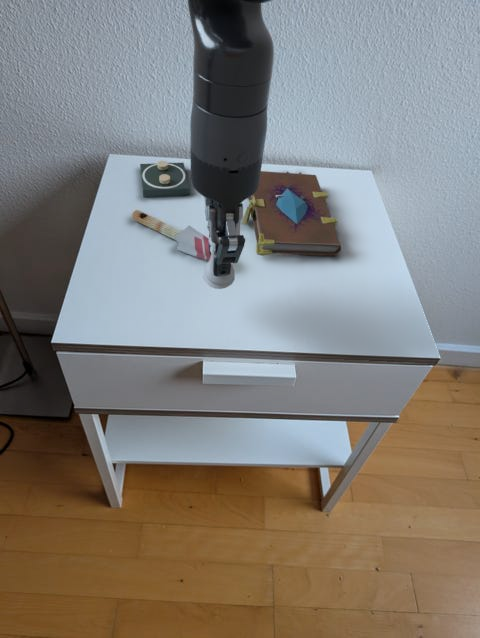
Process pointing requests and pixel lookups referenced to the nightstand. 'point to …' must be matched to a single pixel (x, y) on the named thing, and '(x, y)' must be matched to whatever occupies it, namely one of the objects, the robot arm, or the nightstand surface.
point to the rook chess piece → (216, 281)
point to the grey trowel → (178, 235)
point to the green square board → (156, 188)
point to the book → (292, 216)
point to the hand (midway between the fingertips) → (219, 262)
